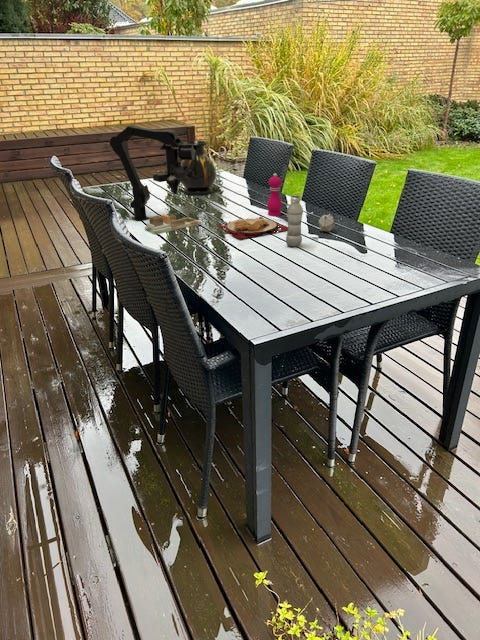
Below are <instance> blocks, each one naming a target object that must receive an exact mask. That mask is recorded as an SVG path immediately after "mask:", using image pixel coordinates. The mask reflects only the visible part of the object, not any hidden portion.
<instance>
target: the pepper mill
mask: <svg viewBox="0 0 480 640" xmlns="http://www.w3.org/2000/svg"><path fill="white" fill-rule="evenodd" d="M268 185H269V191H270V196H269V199H268V201H267V203H266V204H267V209H268V211H267V215H268V216H269V217H270V216H271V217H278V216H279V217H280V216H281V213H282V211H281V209H282V207H283V203H282V200H281V198H280V191H281V187H280V186H281V185H282V180H281V178H280V177H279V176H278V174H277V173H273V176H272V177H270V178H269V179H268Z"/></svg>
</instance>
